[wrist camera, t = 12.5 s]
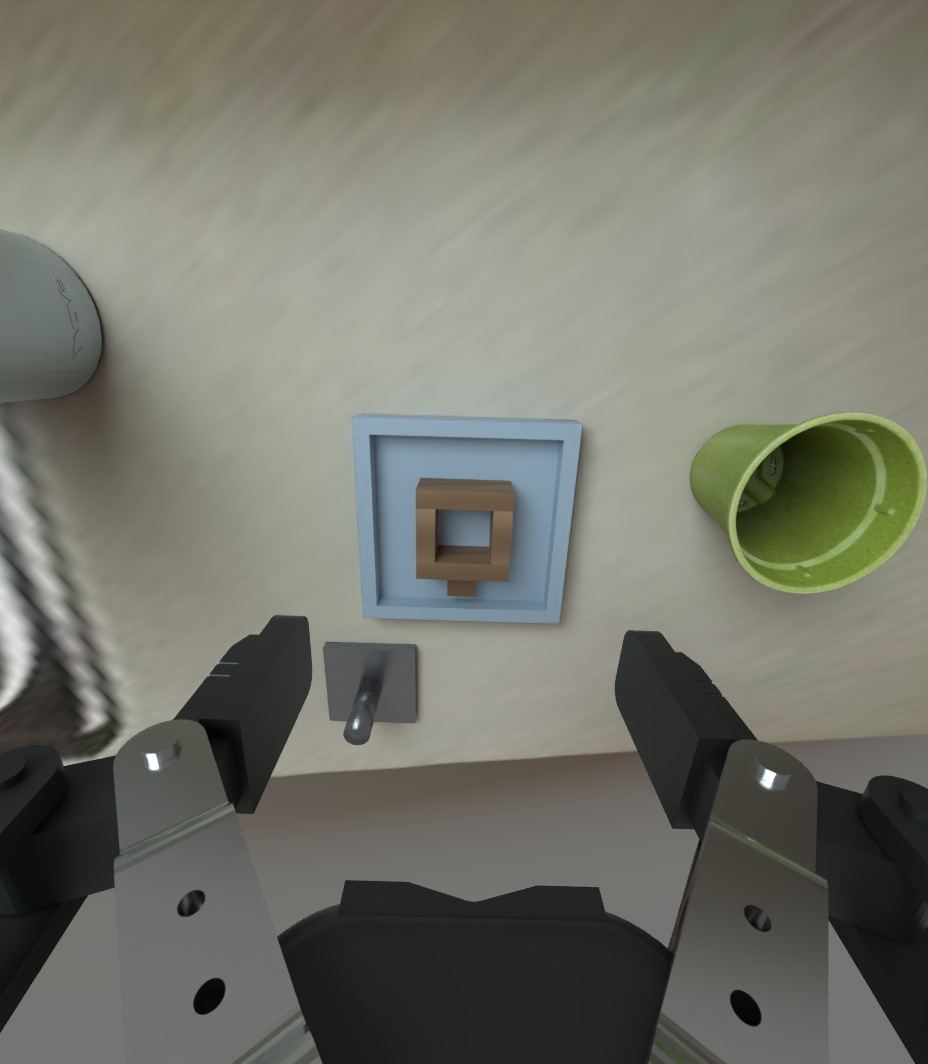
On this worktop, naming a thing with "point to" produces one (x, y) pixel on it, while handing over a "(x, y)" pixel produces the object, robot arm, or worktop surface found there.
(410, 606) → the tray
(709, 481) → the plant pot
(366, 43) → the worktop surface
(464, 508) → the brown hollow rectangular frame
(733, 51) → the worktop surface
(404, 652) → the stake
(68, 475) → the worktop surface
